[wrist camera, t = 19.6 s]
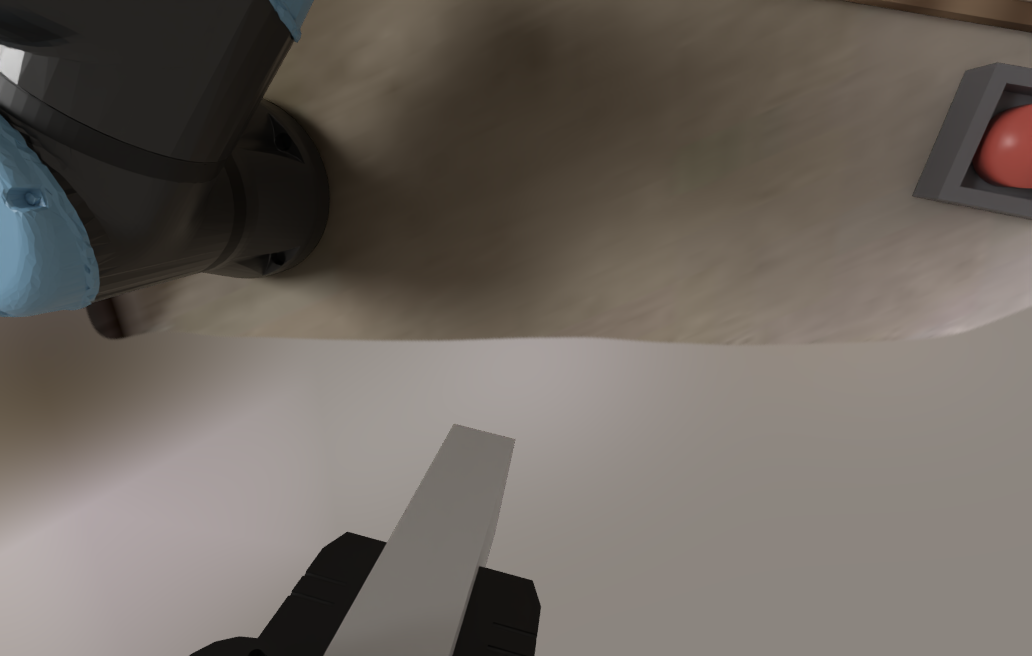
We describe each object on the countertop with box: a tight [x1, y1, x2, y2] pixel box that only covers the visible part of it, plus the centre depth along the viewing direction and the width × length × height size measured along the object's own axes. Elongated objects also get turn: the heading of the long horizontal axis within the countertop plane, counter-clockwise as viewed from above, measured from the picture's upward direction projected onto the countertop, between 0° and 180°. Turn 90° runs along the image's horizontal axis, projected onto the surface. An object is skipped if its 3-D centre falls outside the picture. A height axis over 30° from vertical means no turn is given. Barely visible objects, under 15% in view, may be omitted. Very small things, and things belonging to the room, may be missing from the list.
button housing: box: [913, 63, 1032, 220], centre depth 35 cm, size 8×8×3 cm
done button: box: [972, 104, 1032, 188], centre depth 34 cm, size 5×5×2 cm
